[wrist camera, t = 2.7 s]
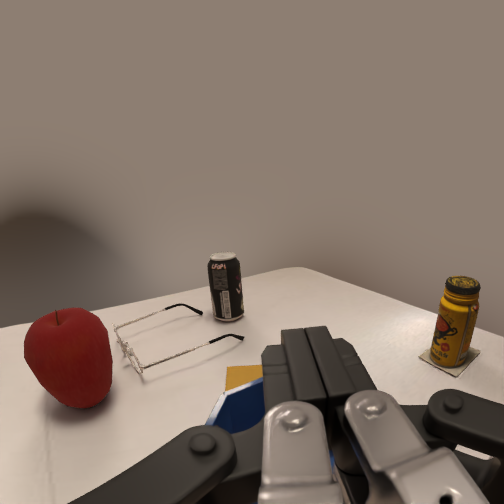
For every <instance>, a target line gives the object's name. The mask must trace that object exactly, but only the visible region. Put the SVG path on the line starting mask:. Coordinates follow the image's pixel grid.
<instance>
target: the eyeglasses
mask: <svg viewBox="0 0 504 504" xmlns="http://www.w3.org/2000/svg"><path fill="white" fill-rule="evenodd" d="M176 306H186V307H187V308H189V309H191V310H193V311H194V312H196V313H198V314H199V315H202V314H203V312H202V311H200V310H197V309H195V308H193V307H191V306H188V305H186V304H176V305H172V306H169V307H167V308H164V309H163V310H161V311H164V310H168V309H170V308H173V307H176ZM161 311H158V312H161ZM158 312H156V313H158ZM156 313H152V314H149V315H147V316H144V317H141V318H139V319H136V320H133V321H130V322H128V323H125V324H122V325H119V326H117V327H115V326H114V323H112V325H113V327H114V331H115V332H116V335H117V337H118V339H117V342H118V343H120V344H121V346H122V349H123V351H124V352H126V354H127V356H128V358H129V359H130V361H131V363H132V364H133V366H134V367H135V369H136V370H137V372H138V373H140V374H142V373H143V370H142V369H146V368H149V367H151V366H154V365H157V364H160V363H162V362H165V361H167V360H170V359H173V358H175V357H178V356H180V355H183V354H186V353H188V352H191V351H193V350H195V349H197V348H199V347H202V346H204V345H208V344H211V343H214V342H216V341H218V340H221V339H223V338H225V337H228V336H233V337H235V338H237V339H239V340H241V341H243V339H244V337H243V336H239V335H235V334H227V335H223V336H221V337H218V338H216V339H213V340H211V341H209V342H207V343H206V344H204V345H201V346H199V347H196V348H192V349H190V350H187V351H184V352H182V353H179V354H176V355H174V356H171V357H168V358H165V359H163V360H160V361H157V362H154V363H151V364H149V365H141V364H140V363H139V361H138V359H137V357H136V355H135V354H134V352H133V349H132V348H130V346H129V345H128V342H126V343H123V341H121V338H120V337H119V335H118V333H117V329H118V328H121V327H123V326H126V325H128V324H131V323H134V322H136V321H139V320H141V319H144V318H147V317H149V316H152V315H154V314H156ZM118 340H119V341H118ZM124 342H125V341H124ZM127 347H128V348H129V349H128V350H129V351H127ZM129 352H130V354H129ZM130 356H134V357H135V359H136V361H137V363H138V366H139V368H140V370H141V372H140V371H139V369H138V368H137V367H136V366H135V364H134V362H133V361H132V359H131V357H130Z"/></svg>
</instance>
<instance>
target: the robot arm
mask: <svg viewBox="0 0 504 504" xmlns="http://www.w3.org/2000/svg"><path fill="white" fill-rule="evenodd" d="M261 358H262V374H263V390H264V403H265V414H264V416H263V418H262V419H261V421H260V422H259V423H257V424H256V425H255V426H253V427H252V428H250V429H247V430H245V431H241V432H238V433H234V434H230V433H229V432H227V431H226V430H224V429H222V428H220V427H217V426H212V425H200V426H195V427H192V428H189V429H187V430H185V431H183V432H182V433H181V434H179V435H178V436H176V437H175V438H173V439H172V440H171V441H169V442H168V443H166V444H165V445H163V446H162V447H161V448H159V449H158V450H156V451H155V452H153V453H152V454H150V455H149V456H147V457H146V458H144V459H143V460H141V461H140V462H138V463H136V464H135V465H133V466H132V467H130V468H129V469H127V470H125V471H124V472H122V473H121V474H119V475H117V476H116V477H114V478H112V479H111V480H109V481H107V482H106V483H104V484H102V485H101V486H99V487H97V488H95V489H94V490H92V491H90V492H88V493H86V494H85V495H83V496H81V497H79V498H77V499H75V500H73V501H71V502H70V503H68V504H252V503H255V502H258V504H344V503H343V500H344V502H345V504H504V405H503V404H500V403H496V402H493V401H490V400H487V399H484V398H481V397H478V396H475V395H471V394H468V393H465V392H462V391H459V390H455V389H444V390H440V391H438V392H436V393H434V394H433V395H432V396H431V398H430V399H429V402H428V405H399V404H398V403H397V401H396V400H395V399H394V398H393V397H392V396H391V395H389V394H387V393H385V392H382V391H378V390H377V388H376V386H375V385H374V383H373V381H372V379H371V377H370V376H369V374H368V372H367V370H366V368H365V367H364V365H363V364H362V361H361V360H360V358H359V356H357V353H356V351H355V349H354V347H353V346H352V345H351V344H350V343H348V342H347V341H346V340H344V339H343V338H338V339H332V337H331V335H330V333H329V331H328V329H327V327H326V326H318V327H309V328H304V329H303V328H299V329H288V330H281V345H270V346H266V348H265V350H264V351H263V353H262V355H261ZM458 444H459V445H461V446H464V447H467V448H470V449H472V450H475V451H478V452H481V453H484V454H487V455H490V456H493V457H494V458H492V459H489V460H483V459H480V458H477V457H474V456H471V455H468V454H465V453H463V452H460V451H457V450H455V448H456V446H457V445H458ZM329 450H332V451H333V455H334V463H333V473H334V475H335V478H336V481H334V479H333V474H332V468H331V462H330V455H329Z"/></svg>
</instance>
